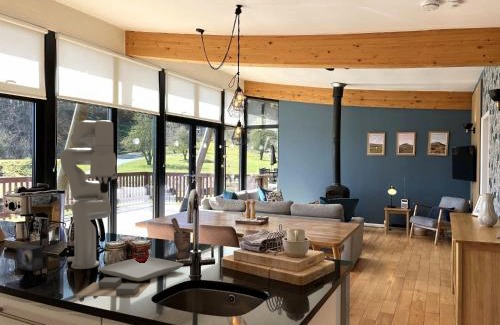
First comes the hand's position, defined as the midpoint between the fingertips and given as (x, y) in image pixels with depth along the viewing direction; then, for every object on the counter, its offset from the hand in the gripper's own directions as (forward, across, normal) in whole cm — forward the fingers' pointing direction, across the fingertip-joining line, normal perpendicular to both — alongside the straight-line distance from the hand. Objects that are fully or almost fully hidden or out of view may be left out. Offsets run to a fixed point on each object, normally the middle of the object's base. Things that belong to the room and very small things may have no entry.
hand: (104, 192), depth 177 cm
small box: (+37, -42, +14) cm, 58 cm away
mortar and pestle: (+37, +23, +40) cm, 59 cm away
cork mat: (+37, +10, -14) cm, 41 cm away
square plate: (+37, +13, +9) cm, 40 cm away
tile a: (+35, +3, -10) cm, 37 cm away
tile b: (+35, +13, -18) cm, 42 cm away
